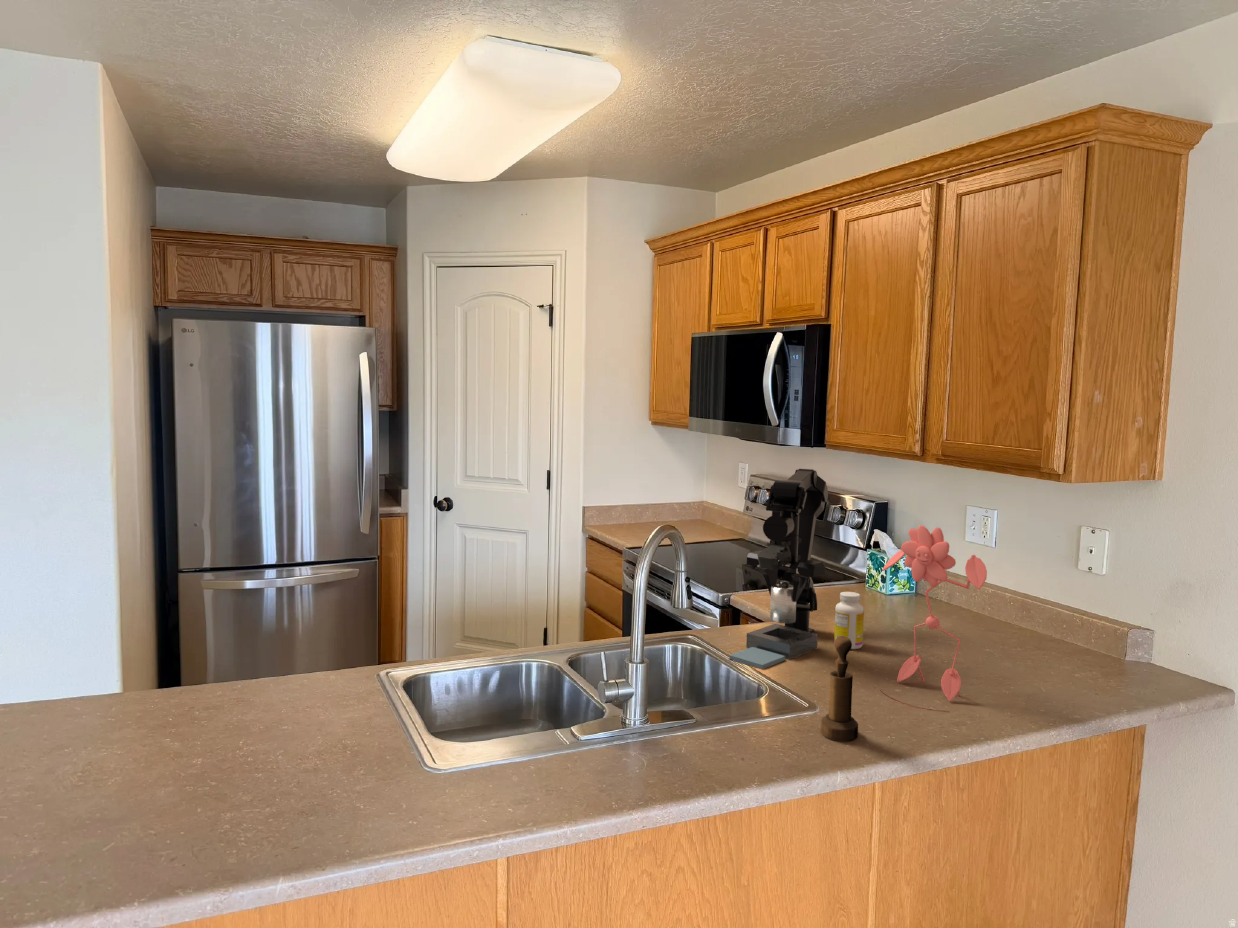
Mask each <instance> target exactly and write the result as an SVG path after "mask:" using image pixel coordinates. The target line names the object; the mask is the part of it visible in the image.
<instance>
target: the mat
mask: <svg viewBox="0 0 1238 928" xmlns="http://www.w3.org/2000/svg"><path fill="white" fill-rule="evenodd" d="M728 659H732V660H731V661H733V660H734V661H733V662H736V661H737V663H739V662H740V664H743V665H747V666H750V667H754V668H757V669H760V670H764V669H766V668H769V667H771V666H774V665H777V664H779V663H781V662H784V661H785V660H786V659H785V656H783V655H780V654H776V653H773V652H769V651H766V650H762V649H758V648H755V647H751V648H746V649H743V650H741V651H737V652H734V653H732V654H729V657H728Z"/></svg>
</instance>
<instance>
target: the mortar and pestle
mask: <svg viewBox="0 0 1238 928" xmlns="http://www.w3.org/2000/svg"><path fill="white" fill-rule="evenodd" d="M833 646H834V648H835V650H836V652H837V656H838V657H837V659H835V668H836V670H833V671H831V672H830V673H829V697H828V699H829V700H828V705H829V706H828V713H827V714H826V715H824V716H823V717H822V718H821V721H820V733H821V735H822V736H823V737H824V738H826V739H829V740H832V741H837V742H852V741H854V740H856V739H857V738H858V737H859V722H858V721H857V720H856V719H855V718H854V717H853V716H852V705H853V703H852V702H853V701H852V700H853V682H854V681H853V680H854V676H853V674H852V673H851V672H849V671H847V670H848V667H849V661H848V659H847V657H848V656H847V655H848V654H849V652H850V651H851V650H852V649H851V647H852V643H851V640H850V639H849V638H848V637H845V636H839V637H837V638H836V640H835V643H834V645H833Z"/></svg>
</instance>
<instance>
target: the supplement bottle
mask: <svg viewBox="0 0 1238 928" xmlns="http://www.w3.org/2000/svg"><path fill="white" fill-rule="evenodd" d="M839 599H840V602H838V603H837V604H836V605H835V610H834V614H835V615H834V634H833V635H834V639H833V640H834V643H835V640H836V638H837V637H839V636H845V637H848V638H849V639H850V640H851V643H852V647H851V649H850V650H859V649H861V648H863V645H864V643H863V642H864V621H865V619H864V617H865V608H864V606H863V605H862V604H861V603H860V601H861V594H860V593H858V592H854V591H843V592H842V591H841V592H840V593H839Z"/></svg>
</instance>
